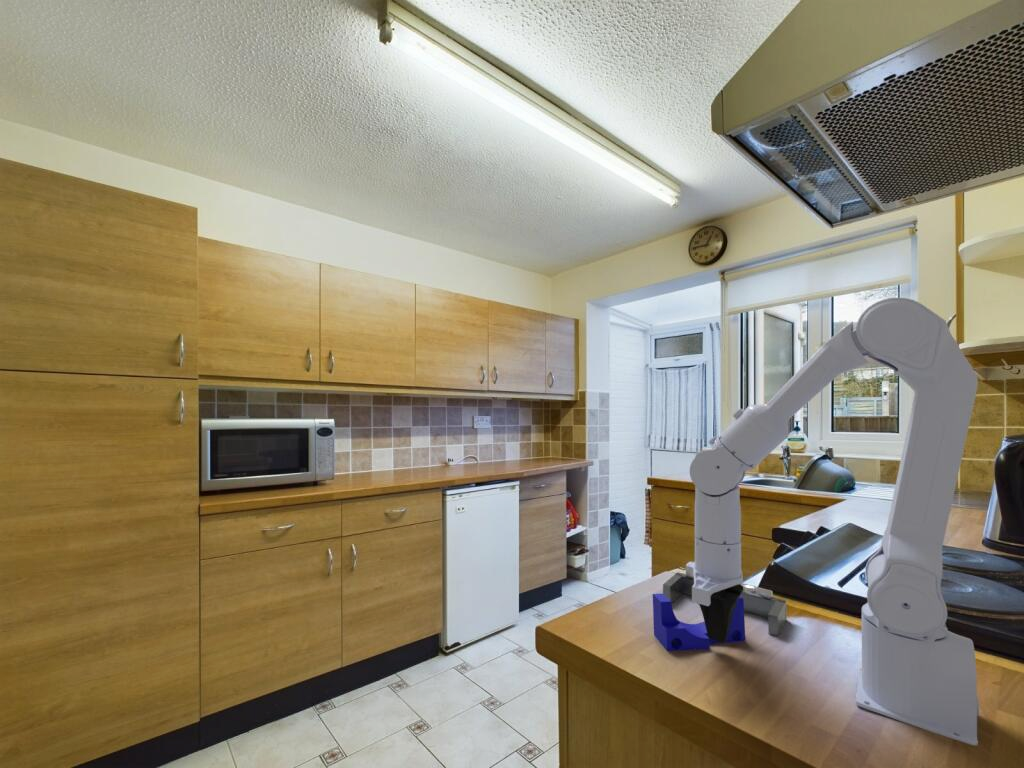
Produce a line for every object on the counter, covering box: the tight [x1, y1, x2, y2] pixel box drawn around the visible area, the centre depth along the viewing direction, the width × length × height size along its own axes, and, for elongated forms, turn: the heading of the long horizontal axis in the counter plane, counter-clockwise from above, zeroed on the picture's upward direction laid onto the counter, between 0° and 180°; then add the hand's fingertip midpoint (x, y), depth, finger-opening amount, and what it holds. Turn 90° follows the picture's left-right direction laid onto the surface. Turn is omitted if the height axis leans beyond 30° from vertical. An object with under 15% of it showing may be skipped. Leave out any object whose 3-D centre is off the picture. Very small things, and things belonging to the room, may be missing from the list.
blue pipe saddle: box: [652, 592, 746, 652], centre depth 65 cm, size 12×4×6 cm, turn 95°
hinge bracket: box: [662, 570, 787, 637], centre depth 74 cm, size 17×7×4 cm, turn 50°
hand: (717, 638), depth 62 cm, fingers closed
